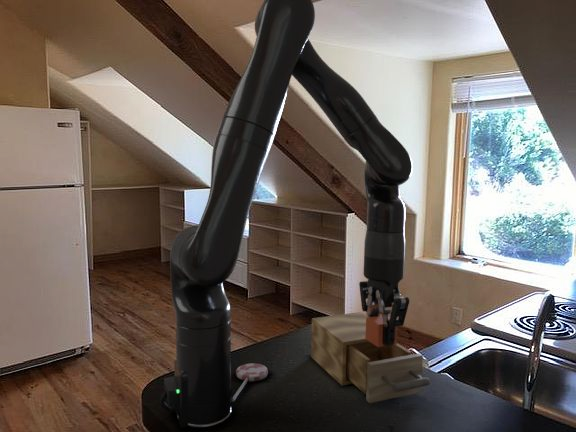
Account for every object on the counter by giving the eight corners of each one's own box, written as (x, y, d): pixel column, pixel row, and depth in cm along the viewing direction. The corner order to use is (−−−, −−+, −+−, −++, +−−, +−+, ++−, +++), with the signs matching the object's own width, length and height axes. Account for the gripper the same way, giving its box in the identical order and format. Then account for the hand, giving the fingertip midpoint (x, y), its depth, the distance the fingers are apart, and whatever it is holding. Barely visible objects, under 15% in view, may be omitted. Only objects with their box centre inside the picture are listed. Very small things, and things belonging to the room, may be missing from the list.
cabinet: (395, 375, 100) (397, 333, 98) (341, 385, 95) (343, 342, 94) (359, 349, 113) (360, 311, 112) (310, 357, 108) (311, 318, 107)
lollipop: (215, 395, 88) (241, 361, 103) (215, 400, 88) (241, 366, 103) (249, 399, 87) (271, 364, 101) (250, 405, 87) (271, 369, 101)
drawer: (438, 404, 86) (440, 366, 85) (384, 417, 82) (386, 376, 81) (381, 363, 103) (382, 331, 102) (334, 371, 99) (335, 338, 98)
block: (377, 347, 90) (378, 324, 89) (365, 338, 94) (365, 317, 93) (397, 344, 91) (398, 321, 91) (384, 336, 95) (385, 314, 95)
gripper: (424, 259, 85) (419, 351, 87) (380, 245, 98) (377, 325, 100) (389, 262, 82) (385, 357, 85) (348, 247, 96) (345, 330, 98)
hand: (380, 339), depth 93 cm, fingers closed on block, 4 cm apart
